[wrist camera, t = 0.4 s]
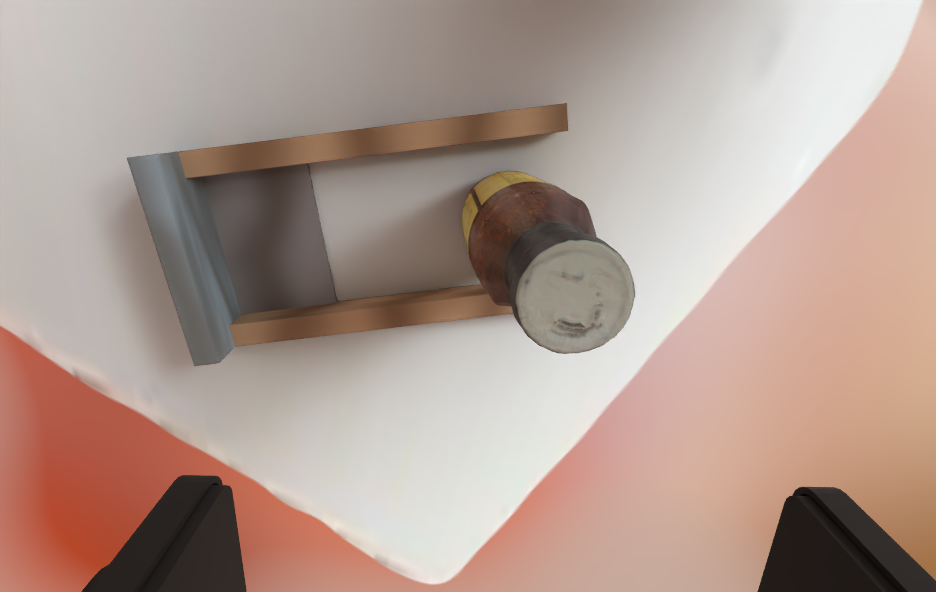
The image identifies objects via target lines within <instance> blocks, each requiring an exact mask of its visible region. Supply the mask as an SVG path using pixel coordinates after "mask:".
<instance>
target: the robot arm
mask: <svg viewBox="0 0 936 592" xmlns="http://www.w3.org/2000/svg"><path fill="white" fill-rule="evenodd" d="M82 592H246V585H245V578H244V571H243V563H242V557H241V549H240V543H239V536H238V528H237V522H236V515H235V508H234V501H233V493H232V489H231V487H230V486H226V485H222V481H221V479H220V478H219V477H218V476H194V475H193V476H192V475H182V476H180V477H178V478H177V479H176V480H175V481H174V482H173V484H172V485H171V486H170V487H169V489H168V490H167V491H166V492H165V494H164V495H163V496H162V498H161V499H160V500H159V501H158V503H157V504H156V505H155V507H154V508H153V509H152V510H151V512H150V513H149V514H148V516H147V517H146V518H145V519H144V521H143V522H142V523H141V525H140V526H139V527H138V528H137V530H136V531H135V532H134V534H133V535H132V536H131V537H130V539H129V540H128V541H127V542H126V544H125V545H124V546H123V548H122V549H121V550H120V552H119V553H118V554H117V555H116V557H115V558H114V559H113V561H112V562H111V563H110V564H109V565H107V566H106V567H104V568H102V569H101V570H100V571H99V572H98V573H97V574H96V575H95V576H94V577H93V578H92V580H91V581H90V582H89V583H88V584H87V586H86V587H85V588H84V589H83V591H82ZM758 592H936V581H935V580H934V579H933V578H932V577H931V576H930V575H929V574H928V573H927V572H926V571H925V570H924V569H923V568H922V567H921V566H920V565H919V564H918V563H917V562H916V561H915V560H914V559H913V558H911V556H910V555H909V554H908V553H907V552H905V551H904V550H903V549H902V548H901V547H900V546H899V545H898V544H897V543H896V542H895V541H894V540H893V539H892V538H891V537H890V536H889V535H888V534H887V533H886V532H885V531H883V529H882V528H881V527H880V526H879V525H878V524H877V523H876V522H875V521H874V520H873V519H871V518H870V517H869V516H868V515H867V514H866V513H865V512H864V511H863V510H862V509H861V508H860V507H859V506H858V505H857V504H856V503H855V502H854V501H853V500H852V499H851V498H850V497H849V496H848V495H847V494H846V493H844V492H843V491H842V490H840V489H837V488H834V487H800V488H798V489H796V490H795V492H794V494H793V496H789V497H788V498H787V499H786V501H785V503H784V507H783V510H782V513H781V516H780V520H779V523H778V526H777V529H776V533H775V536H774V539H773V543H772V546H771V549H770V553H769V556H768V559H767V563H766V566H765V569H764V572H763V576H762V579H761V583H760V586H759V589H758Z"/></svg>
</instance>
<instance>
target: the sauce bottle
mask: <svg viewBox="0 0 936 592" xmlns="http://www.w3.org/2000/svg"><path fill="white" fill-rule="evenodd" d="M462 228H463V232H464V237H465V240H466V245H467V249H468V253H469V258H470V261H471V264H472V267H473V269H474V271H475V273H476V275H477V277H478V278H479V280H480V282H481V285H482V286H483V288H484V289H485V290H486V291H487V293H488V294H489V296H490V297H491V299H492V301H493V302H494V303H495V304H496V305H498V306H510V307H512V311H513V313H514V316H515V318H516V320H517V321H518V323H519V325H520V326H521V327H522V329H523V330H524V332H525V333H526V334H527V336H528V337H529V338H531V339H532V340H533V341H534V342H535V343H537V344H538V345H539V346H542V347H544V348H546V349H548V350H550V351H553V352H556V353H563V354H567V353H580V352H585V351H589V350H592V349H595V348H597V347H600V346H602V345H604V344H605V343H607V342H608V341H609V340H610V339H612V338H614V337H615V336H616V335H617V334H618V333H619V332H620V331H621V329H622V328H623V327H624V325H625V324H626V322H627V320H628V318H629V316H630V314H631V310H632V307H633V301H634V297H635V289H634V282H633V278H632V275H631V272H630V269H629V267H628V265H627V264H626V262H625V261H624V259H623V258H622V257H621V255H620V254H619V253H618V252H617V251H616V250H614V249H613V248H612V247H610V246H609V245H608V244H607V243H605V242H604V241H602V240H601V239H599V238H597V237H596V232H595V229H594V226H593V223H592V220H591V216H590V213H589V210H588V208H587V206H586V205H585V203H584V202H583V201H581V200H579V199H577V198H575V197H573V196H571V195H570V194H568V193H567V192H565V191H564V190H562V189H560V188H559V187H557V186H554V185H552V184H550V183H547V182H544V181H542V180H539V179H537V178H535V177H532V176H530V175H528V174H526V173H523V172H516V171H505V172H497V173H496V174H493V175H490V176H488V177H486V178H485V179H483V180H482V181H480V182H479V183H478V184H477V185H476V186H475V187H474V188H473V189H472V190H471V191H470V193H469V195H468V197H467V199H466V201H465V204H464V207H463V212H462Z"/></svg>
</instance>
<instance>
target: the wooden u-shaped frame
mask: <svg viewBox="0 0 936 592" xmlns="http://www.w3.org/2000/svg"><path fill="white" fill-rule="evenodd" d="M562 131H568V121H567V103H565V104H557V105H549V106H541V107H533V108H525V109H517V110H509V111H501V112H493V113H485V114H477V115H469V116H461V117H453V118H445V119H437V120H429V121H421V122H413V123H405V124H397V125H389V126H381V127H373V128H365V129H357V130H349V131H341V132H333V133H325V134H317V135H309V136H301V137H293V138H285V139H277V140H269V141H261V142H253V143H245V144H237V145H229V146H221V147H213V148H205V149H197V150H189V151H181V152H172V153H163V154H154V155H146V156H138V157H130V158H127V160H128V163H129V166H130V169H131V172H132V175H133V179H134V182H135V185H136V188H137V191H138V194H139V197H140V200H141V203H142V206H143V209H144V212H145V215H146V218H147V221H148V225H149V228H150V231H151V234H152V237H153V240H154V243H155V246H156V249H157V252H158V255H159V258H160V261H161V264H162V267H163V271H164V274H165V277H166V280H167V283H168V286H169V289H170V292H171V295H172V298H173V301H174V304H175V307H176V310H177V313H178V317H179V320H180V323H181V326H182V329H183V332H184V335H185V338H186V341H187V344H188V347H189V350H190V353H191V356H192V360H193V363H194V366H199V365H208V364H216V363H220V362H221V360H222V359H223V358H224V357H225V356H226V355H227V354H228V353H229V352H230V351H231V350H232V349H233V348H234V347H235V346H244V345H252V344H260V343H269V342H277V341H285V340H294V339H302V338H311V337H319V336H327V335H336V334H344V333H352V332H361V331H369V330H377V329H386V328H394V327H402V326H411V325H419V324H427V323H436V322H444V321H453V320H461V319H469V318H478V317H486V316H494V315H503V314H511V313H513V311H512V307H510V306H498V305H496V304H495V303H494V302H493V301H492V299H491V297H490V296H489V294H488V293H487V291H486V290H485V289H484V288H483V286H482V285H481V284H480V285H472V286H463V287H455V288H447V289H438V290H430V291H422V292H414V293H405V294H397V295H389V296H380V297H372V298H364V299H356V300H347V301H339V302H337V299H336V294H335V290H334V285H333V280H332V276H331V271H330V266H329V262H328V257H327V252H326V248H325V243H324V238H323V234H322V229H321V224H320V220H319V215H318V210H317V206H316V201H315V196H314V192H313V187H312V182H311V178H310V173H309V168H308V164H307V163H313V162H321V161H329V160H337V159H345V158H353V157H361V156H369V155H377V154H385V153H393V152H401V151H409V150H417V149H425V148H433V147H441V146H449V145H457V144H465V143H474V142H482V141H490V140H498V139H506V138H514V137H522V136H530V135H538V134H546V133H554V132H562Z"/></svg>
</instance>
